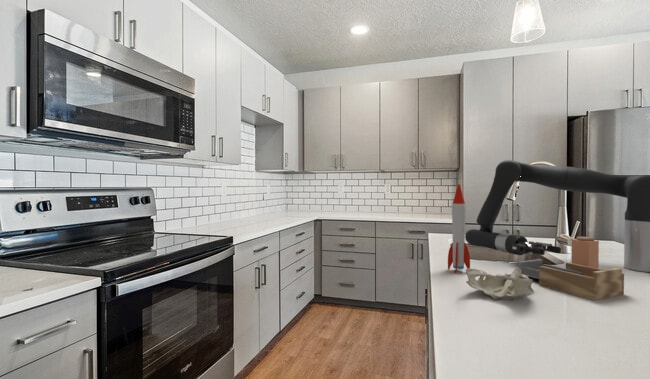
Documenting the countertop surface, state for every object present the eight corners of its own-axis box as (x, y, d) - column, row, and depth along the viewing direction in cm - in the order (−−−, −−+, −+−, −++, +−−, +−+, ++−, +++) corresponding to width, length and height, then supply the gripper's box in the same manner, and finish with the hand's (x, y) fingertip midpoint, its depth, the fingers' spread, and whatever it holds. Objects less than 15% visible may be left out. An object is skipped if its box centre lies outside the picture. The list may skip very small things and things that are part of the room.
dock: (567, 280, 104) (567, 257, 104) (623, 294, 90) (624, 268, 90) (539, 284, 99) (539, 261, 99) (594, 300, 86) (594, 273, 85)
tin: (581, 274, 110) (581, 236, 110) (598, 278, 106) (598, 238, 106) (571, 276, 109) (571, 236, 108) (588, 280, 104) (588, 239, 104)
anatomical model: (455, 265, 87) (492, 250, 104) (455, 300, 87) (492, 279, 104) (518, 278, 76) (549, 258, 93) (517, 317, 76) (548, 291, 93)
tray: (539, 270, 111) (539, 259, 111) (582, 280, 99) (582, 268, 99) (517, 273, 107) (518, 261, 107) (559, 284, 95) (559, 271, 95)
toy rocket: (460, 268, 118) (461, 184, 118) (470, 272, 112) (471, 183, 112) (446, 269, 117) (447, 183, 117) (455, 273, 111) (456, 183, 111)
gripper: (497, 235, 129) (538, 241, 114) (523, 233, 134) (565, 239, 119) (497, 254, 129) (538, 263, 114) (523, 251, 134) (565, 260, 119)
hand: (552, 251), depth 117 cm, fingers open, 8 cm apart
